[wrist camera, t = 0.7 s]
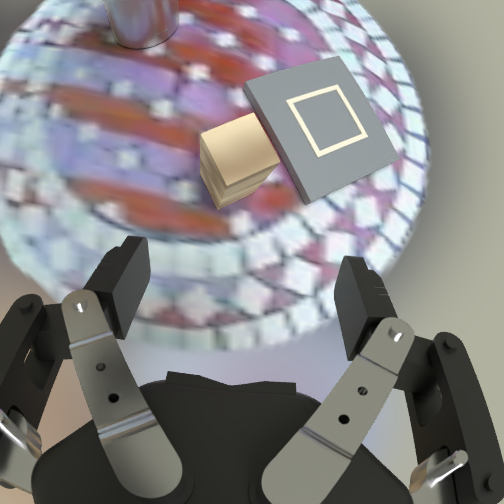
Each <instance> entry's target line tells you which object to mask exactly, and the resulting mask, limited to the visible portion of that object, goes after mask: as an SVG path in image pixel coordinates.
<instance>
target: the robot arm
mask: <svg viewBox="0 0 504 504" xmlns="http://www.w3.org/2000/svg"><path fill="white" fill-rule="evenodd" d="M103 3H104V7H105V10H106V13H107V16H108V20H109V23H110V26H111V29H112V32H113V35H114V38H115V40H116V41H117V42H118V43H119V44H121V45H122V46H125V47H128V48H134V49H140V48H147V47H151V46H155V45H157V44H159V43H162V42H163V41H165V40H166V39H168V38H169V37H170V36H171V35H172V34H173V33H174V32H175V31H176V29H177V27H178V24H179V5H178V4H179V0H103ZM150 271H151V270H150V260H149V251H148V242H147V238H146V237H139V236H127V238H126V239H125V241H124V242H123V244H122V245H121V247H117V246H116V247H114V248H113V249H111V250H110V251H109V252H107V253H106V254H105V256H104V257H103V259H102V260H101V262H100V263H99V265H98V266H97V269H95V271H94V272H93V274H92V276H91V277H90V279H89V280H88V282H87V283H86V285H85V286H84V288H83V290H77V291H74V292H72V293H70V294H68V295H67V296H66V297H65V298H64V300H63V301H62V303H60V304H50V305H44V304H43V301H42V299H41V297H40V296H38V295H35V294H28V295H24V296H22V297H20V298H19V299H17V300H16V301H15V302H14V303H13V305H12V306H11V308H10V310H9V311H8V312H7V314H6V316H5V318H4V319H3V320H2V322H1V324H0V485H1V486H3V487H5V488H8V489H12V488H18V489H21V490H22V491H25V492H27V493H29V494H32V495H33V499H34V503H35V504H497V503H499V502H500V501H501V500H502V499H503V498H504V463H503V459H502V455H501V451H500V447H499V443H498V440H497V436H496V433H495V429H494V426H493V423H492V420H491V417H490V413H489V410H488V407H487V404H486V401H485V399H484V396H483V393H482V390H481V387H480V384H479V381H478V379H477V376H476V374H475V371H474V369H473V366H472V364H471V361H470V358H469V356H468V354H467V351H466V349H465V347H464V345H463V343H462V341H461V340H460V339H459V338H458V337H457V336H455V335H453V334H451V333H448V332H440V333H438V334H437V335H436V336H435V338H434V339H433V340H428V339H425V338H421V337H418V336H415V335H414V331H413V329H412V328H411V326H410V325H409V324H408V323H406V322H405V321H403V320H401V319H398V317H397V314H396V312H395V309H394V307H393V305H392V302H391V300H390V298H389V296H388V293H387V290H386V289H385V286H384V283H383V281H382V279H381V277H380V276H379V275H378V274H377V273H376V272H375V271H374V270H368V268H367V265H366V263H365V261H364V258H363V257H356V256H344V258H343V260H342V263H341V267H340V270H339V274H338V277H337V281H336V284H335V288H334V301H335V305H336V309H337V314H338V318H339V322H340V326H341V331H342V336H343V340H344V345H345V350H346V354H347V359H348V361H353V362H352V363H351V365H350V366H349V367H348V369H347V370H346V372H345V373H344V374H343V376H342V377H341V378H340V380H339V381H338V383H337V384H336V385H335V387H334V388H333V389H332V391H331V392H330V394H329V395H328V396H327V397H326V399H325V400H324V402H323V403H322V404H321V403H320V402H318V401H317V400H315V399H314V398H311V397H310V396H307V395H304V394H302V393H299V392H296V383H289V382H269V381H263V382H256V383H249V384H241V385H233V386H232V385H226V384H223V383H220V382H217V381H214V380H211V379H208V378H205V377H202V376H200V375H193V374H185V373H178V372H170V371H168V372H167V376H166V380H160V381H154V382H151V383H147V384H145V385H143V386H140V387H138V386H137V384H136V382H135V380H134V378H133V376H132V374H131V371H130V369H129V367H128V365H127V363H126V361H125V359H124V357H123V354H122V352H121V350H120V348H119V346H118V343H117V341H116V339H122V340H125V337H126V335H127V332H128V330H129V328H130V325H131V323H132V320H133V318H134V315H135V313H136V311H137V308H138V306H139V304H140V301H141V299H142V297H143V294H144V292H145V290H146V288H147V285H148V283H149V280H150ZM115 338H116V339H115ZM29 349H30V352H29V354H28V356H27V353H28V351H29ZM26 356H27V358H26ZM25 358H26V360H25ZM63 359H73V362H74V365H75V369H76V372H77V375H78V378H79V381H80V384H81V387H82V390H83V393H84V396H85V399H86V402H87V404H88V407H89V409H90V412H91V415H92V418H93V419H92V420H91V421H89V422H88V423H86V424H85V425H84V426H82V427H81V428H79V429H78V430H76V431H75V432H73V433H72V434H70V435H69V436H67V437H66V438H65V439H63V440H62V441H60V442H59V443H57V444H56V445H54V446H53V447H51V448H50V449H48V450H47V451H46V452H44V453H43V454H42V451H41V447H42V441H41V437H40V435H39V433H38V432H37V429H38V426H39V423H40V420H41V417H42V414H43V411H44V408H45V406H46V403H47V400H48V397H49V395H50V392H51V389H52V387H53V384H54V381H55V379H56V376H57V374H58V371H59V369H60V366H61V364H62V361H63ZM24 360H25V362H24ZM392 388H395V389H399V390H403V391H404V392H405V397H406V402H407V407H408V411H409V416H410V422H411V427H412V432H413V438H414V443H415V449H416V455H417V462H418V466H417V467H416V468H415V469H414V470H413V472H412V474H411V477H410V485H409V490H408V489H407V487H406V486H405V485H404V484H403V483H402V482H401V481H400V480H399V479H398V478H397V477H396V476H395V475H393V473H392V472H391V471H390V470H389V469H387V468H386V467H385V466H384V465H383V464H382V463H381V462H380V461H379V460H378V459H377V458H376V457H375V456H374V455H373V454H372V453H371V452H370V451H369V450H368V449H367V448H366V447H365V446H364V445H363V444H362V441H363V440H364V438H365V436H366V434H367V433H368V431H369V430H370V428H371V426H372V425H373V423H374V421H375V420H376V418H377V416H378V414H379V413H380V411H381V409H382V407H383V405H384V403H385V402H386V400H387V398H388V396H389V394H390V392H391V390H392ZM439 389H440V390H439ZM440 392H441V393H440ZM441 396H442V397H441Z"/></svg>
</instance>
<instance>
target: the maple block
mask: <svg viewBox="0 0 504 504" xmlns="http://www.w3.org/2000/svg"><path fill="white" fill-rule="evenodd" d="M280 162H281V161H280V160H279V158H278V156H277V154H276V152H275V150H274V148H273V147H272V145H271V143H270V141H269V139H268V137H267V136H266V134H265V132H264V130H263V128H262V126H261V125H260V123H259V121H258V119H257V117H256V116H255V114H254V113H251V114H249V115H246V116H243V117H241V118H238V119H236V120H233V121H231V122H228V123H226V124H223V125H221V126H218V127H216V128H214V129H211V130H209V131H207V132H204V133H202V134H201V141H200V175H201V177H202V179H203V181H204V183H205V185H206V187H207V189H208V191H209V193H210V195H211V197H212V199H213V201H214V203H215V205H216V207H217V209H218V210H219V209H221V208H223V207H225V206H227V205H229V204H231V203H233V202H235V201H237V200H239V199H241V198H244V197H246V196H248V195H250V194H252V193H254V192H255V191H256V190H257V189H258V187H259V186H260V185H261V184H262V183H263V182H264V180H265V179H266V178H267V177H268V176H269V174H270V173H271V172H272V171H273V170H274V169H275V167H276V166H277V165H278V164H279V163H280Z"/></svg>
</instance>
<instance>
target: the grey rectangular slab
mask: <svg viewBox="0 0 504 504" xmlns="http://www.w3.org/2000/svg"><path fill="white" fill-rule="evenodd" d="M243 90H244V92H245V94H246V95H247V97H248V99H249V101H250V102H251V104H252V106H253V108H254V109H255V111H256V113H257V115H258V116H259V118H260V120H261V122H262V124H263V125H264V127H265V129H266V131H267V133H268V134H269V136H270V138H271V140H272V142H273V143H274V145H275V147H276V149H277V151H278V153H279V155H280V156H281V158H282V160H283V162H284V164H285V166H286V168H287V170H288V172H289V174H290V175H291V177H292V179H293V181H294V183H295V185H296V187H297V189H298V191H299V193H300V195H301V197H302V199H303V201H304V203H305V205H306V204H308V203H310V202H312V201H314V200H316V199H318V198H320V197H322V196H324V195H326V194H328V193H330V192H333V191H335V190H337V189H339V188H341V187H343V186H345V185H347V184H349V183H351V182H353V181H355V180H357V179H359V178H361V177H364V176H366V175H368V174H370V173H372V172H374V171H376V170H378V169H380V168H382V167H384V166H387V165H389V164H391V163H393V162H395V161H397V160H399V157H398V155H397V153H396V151H395V149H394V147H393V145H392V143H391V141H390V139H389V137H388V135H387V133H386V132H385V130H384V128H383V126H382V124H381V122H380V121H379V119H378V117H377V115H376V114H375V112H374V110H373V108H372V107H371V105H370V103H369V102H368V100H367V98H366V97H365V95H364V93H363V92H362V90H361V88H360V87H359V85H358V84H357V82H356V81H355V79H354V77H353V76H352V74H351V73H350V71H349V70H348V68H347V67H346V65H345V64H344V62H343V61H342V59H341V58H340V56H336V57H331V58H327V59H323V60H318V61H314V62H310V63H306V64H303V65H299V66H295V67H291V68H288V69H284V70H281V71H278V72H274V73H271V74H268V75H264V76H261V77H258V78H255V79H252V80H249V81H246V82H245V85H244V88H243Z"/></svg>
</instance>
